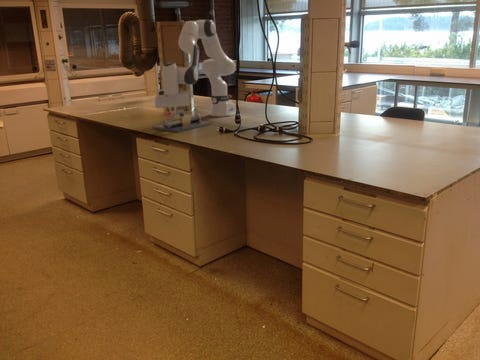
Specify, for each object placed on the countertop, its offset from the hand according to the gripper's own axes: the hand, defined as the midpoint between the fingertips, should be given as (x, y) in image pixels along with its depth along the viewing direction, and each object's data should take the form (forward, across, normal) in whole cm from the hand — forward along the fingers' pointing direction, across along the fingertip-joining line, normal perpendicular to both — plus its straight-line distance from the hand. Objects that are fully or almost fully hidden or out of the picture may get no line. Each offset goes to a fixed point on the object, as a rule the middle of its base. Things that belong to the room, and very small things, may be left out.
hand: (173, 114), depth 268 cm
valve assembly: (+10, -6, -11) cm, 16 cm away
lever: (+2, -2, -6) cm, 7 cm away
